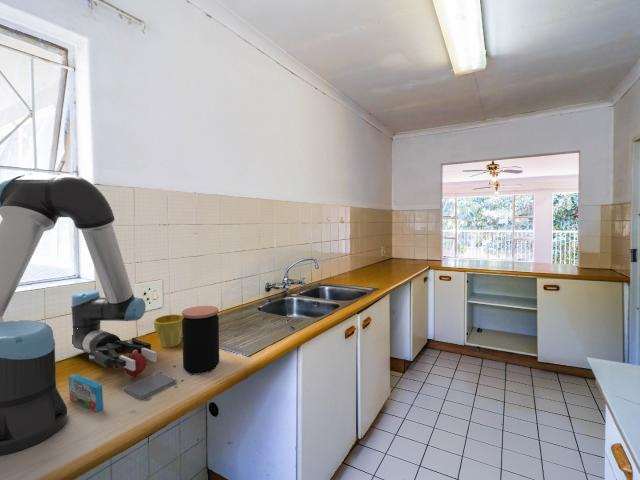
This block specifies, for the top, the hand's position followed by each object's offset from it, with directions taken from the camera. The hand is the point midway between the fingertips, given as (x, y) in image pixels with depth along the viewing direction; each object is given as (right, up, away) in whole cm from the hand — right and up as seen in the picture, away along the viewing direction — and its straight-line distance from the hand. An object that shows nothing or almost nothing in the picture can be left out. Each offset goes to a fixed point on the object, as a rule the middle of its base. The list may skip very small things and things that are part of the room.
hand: (145, 361), depth 91 cm
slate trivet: (+3, -6, -2) cm, 7 cm away
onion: (-5, -6, +3) cm, 8 cm away
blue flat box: (-9, -7, -10) cm, 16 cm away
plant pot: (-5, -4, +27) cm, 28 cm away
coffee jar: (+12, -6, +10) cm, 17 cm away
